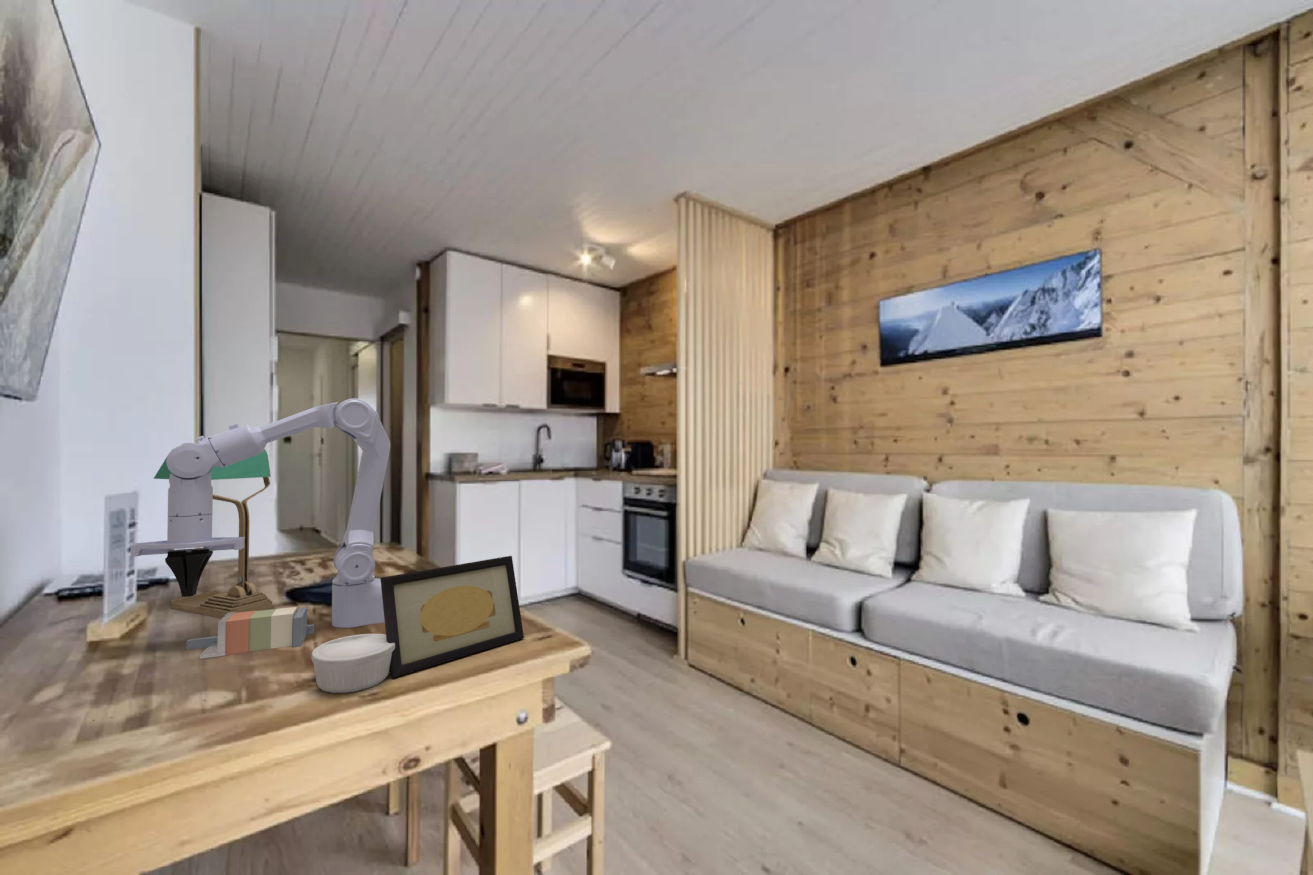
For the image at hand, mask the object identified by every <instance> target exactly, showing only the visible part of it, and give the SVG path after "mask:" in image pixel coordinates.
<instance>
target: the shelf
mask: <svg viewBox="0 0 1313 875" xmlns="http://www.w3.org/2000/svg"><path fill="white" fill-rule="evenodd" d="M314 633H315V624H314V623H312V624H308V606H305V607H304V606H303V607H299V608H297V613H296V614H295V616H294V618H293V645H292V648H300V647H302V646H303V644H304V641H305V639H306V637H307V636H308V635H313V634H314ZM211 643H218V635H214V636H206V637H198V638H197V637H196V638H189V639H187V640H186V651H188V650H193V649H194V650H195V649H202V648H203V649H204V648H207V647H208V646H209V645H210V644H211Z"/></svg>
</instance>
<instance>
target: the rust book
mask: <svg viewBox="0 0 1313 875" xmlns="http://www.w3.org/2000/svg"><path fill="white" fill-rule="evenodd" d="M254 613H255V611H248V612H238V613H234V614H233V615H232V616H231V617H230V618H229V619H228V620H227V621H226V655H225V656H229V655H237V654H245V653H246V654H247V653H249V618H250V617H251V616H252V615H253V614H254Z"/></svg>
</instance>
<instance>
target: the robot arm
mask: <svg viewBox="0 0 1313 875" xmlns="http://www.w3.org/2000/svg"><path fill="white" fill-rule="evenodd" d="M338 403H339V402H338V401H337V402H330V403H327V404H322V405H318V406H314V407H311V408H309V409H305V410H303V411H300V412H297V413H295V414H292V415H289V416H287V417H284V418H282V419H279V420H276V421H273V422H271V423H268V424H265V425H262V426H259V427H257V426H254V425H251V424H247V423H245V424H242V425H239V424H238V423H233V424H230V425H228V428H229V429H227V430H223V431H220V432H218V433H216V434H212V435H209V436H207V437H205V436H204V435H200V436H197V437H196V438H195V439H196V441H197V443H195V442H184V443H182V444H180V445H179V446H176V447H174V448H172V449H171V450H172V451H170V452H169V453H168V454H169V455H167V456H166V457H167V460H166V463H167V467H168V469H169V470H170V471H171V472H172V474H170V478H169V479H168V483H169V487H168V490H167V531H166V533H167V537H166V538H167V540H157V541H148V542H135V543H133V544H131V545H130V557H131V558H132V557H141V556H151V555H152V556H153V555H166V557H165V558H164V561H165V564H166V565H167V566H168V567H169V569H170V570H171V572H172V573H173V575H174V576H175V579H176V581H177V584H178V586H179V590H180V594H181V598H184V597H190V596H193V595H197V592H198V586H199V583H200V580H201V577H202V575H203V573H204V571H205V568H206V566H207V564H208V562H209V561H210V559H211V558H212V556H213V554H214V551H216V552H217V551H228V550H229V551H230V550H234V551H239V550H241V549H243V548H244V537H239V536H236V537H235V536H234V537H233V536H230V537H213V504H214V503H213V502H214V501H213V500H214V499H213V494H214V493H213V492H214V491H213V490H214V489H213V486H212V480H211V473H209V472H210V471H211V470H212V469H213V468H214V467H220V468H223V467H226V466H229V465H231V464H234V463H237V462H239V461H242V460H245V459H248V458H250V457H253V456H256V455H258V454H261V453H262V452H263V451H264V449H265V448H266V446H267V444H268V443H271V442H274V441H277V440H282V439H283V438H286V437H289V436H292V435H296V434H298V433H301V432H304V431H308V430H309V429H313V428H318V429H319V428H320V429H332V428H334V427H336V429H338V430H339V431H341V432H342V433H344V434H345V435H348V436H349V437H350V438H352V440H353V441H354V442H355V443H356V444H357V446H359V449H360V450H362V452H361V456H360V463H359V466H358V471H357V477H356V482H355V485H354V491H353V497H352V502H351V506H350V510H349V516H348V522H347V525H346V529H345V532H344V535H343V538H342V542H341V545H340V546H339V548H338V549H337V550H336V552H335V553H334V556H333V560H332V561H333V566H334V567H335V570H337V574H336V576H335V577H334V578H333V579H332V581H331V582H332V585H331V586H332V587H331V588H332V589H331V591H332V593H331V626H332V627H335V628H343V629H344V628H346V629H350V628H357V627H361V626H367V625H374V624H382V623H384V624H385V621H384V610H383V600H382V590H381V579H380V577H379V578H376V575H375V574H374V571H375V569H376V560H375V557H374V553H373V552H374V551H373V550H374V545H375V544H374V543H375V540H374V538H375V537H374V536H375V535H374V534H375V527H376V521H377V517H378V511H379V507H380V503H381V496H382V491H383V488H384V487H383V486H384V481H385V477H386V472H387V466H388V461H389V458H390V457H389V456H390V450H391V441H390V439H389V436H388V434H387V433H386V432H387V431H385V427H384V426H383V424H382V421H381V418H380V414H379V413H378V412H377V411H376V410H375V409H374V408H373V407H372V406H371V405H370V404H369V403H368V402H366V401H365V400H363V399H360V398H348V399H346V400H344V401H342V402H340V403H339V404H338ZM265 450H266V449H265Z"/></svg>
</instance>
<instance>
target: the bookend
mask: <svg viewBox="0 0 1313 875" xmlns="http://www.w3.org/2000/svg"><path fill="white" fill-rule="evenodd" d="M234 613H235V612H229V613H227V614H226V615H225V616H224V617H223V618H220V620H219V621H218V622H217V636H218V643H211V644H210V645H209V646H208V647H205V648H206V649H204V650H203V652H202V653H201V654H200V655H199V659H201V660H203V659H210V658H216V657H217V658H218V657H224V656H227V655H226V621H227V620H228V619H229V618H230V617H231V616H232V615H233V614H234Z"/></svg>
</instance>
